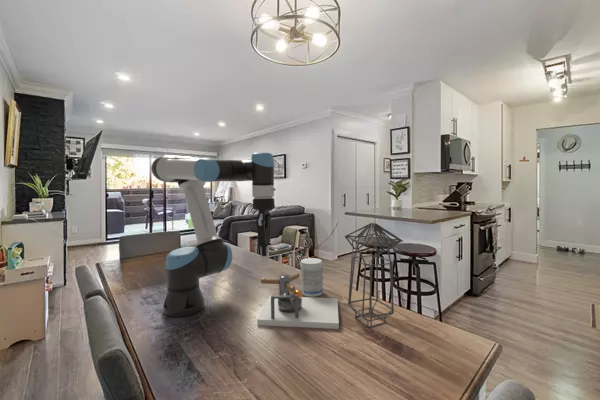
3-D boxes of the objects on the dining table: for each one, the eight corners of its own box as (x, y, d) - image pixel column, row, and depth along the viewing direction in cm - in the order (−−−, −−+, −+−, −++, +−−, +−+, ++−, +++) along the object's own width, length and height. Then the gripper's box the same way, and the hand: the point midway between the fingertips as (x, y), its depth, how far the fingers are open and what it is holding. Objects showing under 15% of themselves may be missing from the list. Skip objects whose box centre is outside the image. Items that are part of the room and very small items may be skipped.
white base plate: (257, 325, 98) (256, 295, 98) (269, 300, 118) (269, 275, 118) (338, 329, 95) (338, 298, 95) (337, 303, 115) (337, 277, 114)
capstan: (255, 315, 100) (255, 283, 100) (266, 297, 116) (265, 269, 115) (300, 317, 99) (300, 284, 98) (304, 298, 114) (304, 270, 114)
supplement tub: (327, 294, 124) (327, 261, 123) (309, 299, 119) (309, 265, 118) (313, 287, 132) (313, 256, 131) (296, 292, 127) (296, 259, 126)
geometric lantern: (340, 314, 106) (341, 221, 104) (374, 307, 112) (376, 219, 110) (366, 335, 91) (368, 227, 89) (404, 326, 97) (406, 224, 96)
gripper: (270, 198, 92) (271, 270, 94) (277, 196, 105) (278, 259, 107) (247, 199, 93) (249, 269, 94) (257, 196, 106) (259, 258, 107)
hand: (265, 264), depth 101 cm, fingers closed
